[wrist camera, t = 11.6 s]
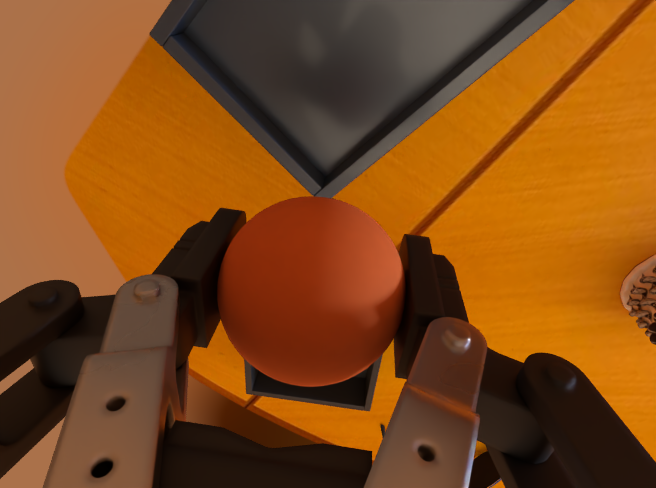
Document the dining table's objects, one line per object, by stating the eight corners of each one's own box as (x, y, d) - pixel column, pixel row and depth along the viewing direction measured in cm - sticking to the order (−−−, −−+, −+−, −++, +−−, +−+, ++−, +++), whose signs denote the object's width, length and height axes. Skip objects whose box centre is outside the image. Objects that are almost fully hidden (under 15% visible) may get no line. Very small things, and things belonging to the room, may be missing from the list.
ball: (247, 288, 14) (195, 412, 10) (245, 156, 12) (171, 252, 7) (385, 308, 14) (389, 442, 10) (416, 179, 11) (440, 290, 7)
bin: (256, 362, 50) (246, 394, 46) (253, 286, 43) (241, 315, 39) (370, 378, 49) (369, 411, 45) (386, 303, 42) (386, 334, 38)
